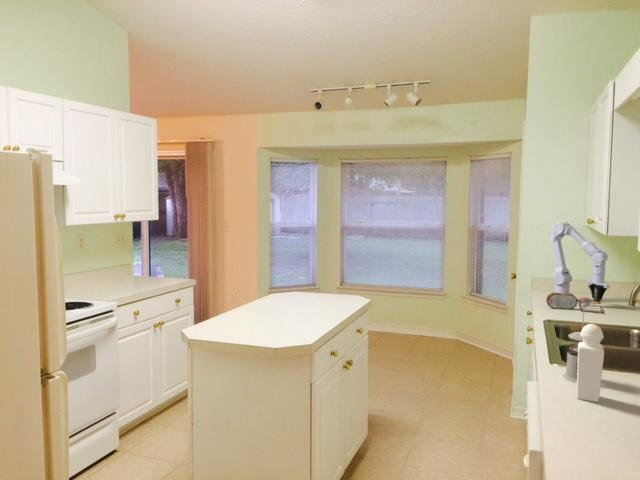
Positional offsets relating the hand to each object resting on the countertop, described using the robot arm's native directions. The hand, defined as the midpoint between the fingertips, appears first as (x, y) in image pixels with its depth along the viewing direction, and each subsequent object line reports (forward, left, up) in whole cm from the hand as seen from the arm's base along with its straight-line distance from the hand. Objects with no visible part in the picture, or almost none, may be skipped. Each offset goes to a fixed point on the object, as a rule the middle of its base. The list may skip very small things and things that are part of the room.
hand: (597, 299), depth 273 cm
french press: (+125, -11, -4) cm, 126 cm away
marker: (0, 0, -2) cm, 2 cm away
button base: (+2, -6, -4) cm, 8 cm away
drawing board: (+11, -3, -4) cm, 12 cm away
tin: (+15, -17, -4) cm, 23 cm away
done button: (+2, -6, -2) cm, 7 cm away
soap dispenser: (+142, -10, -4) cm, 142 cm away
